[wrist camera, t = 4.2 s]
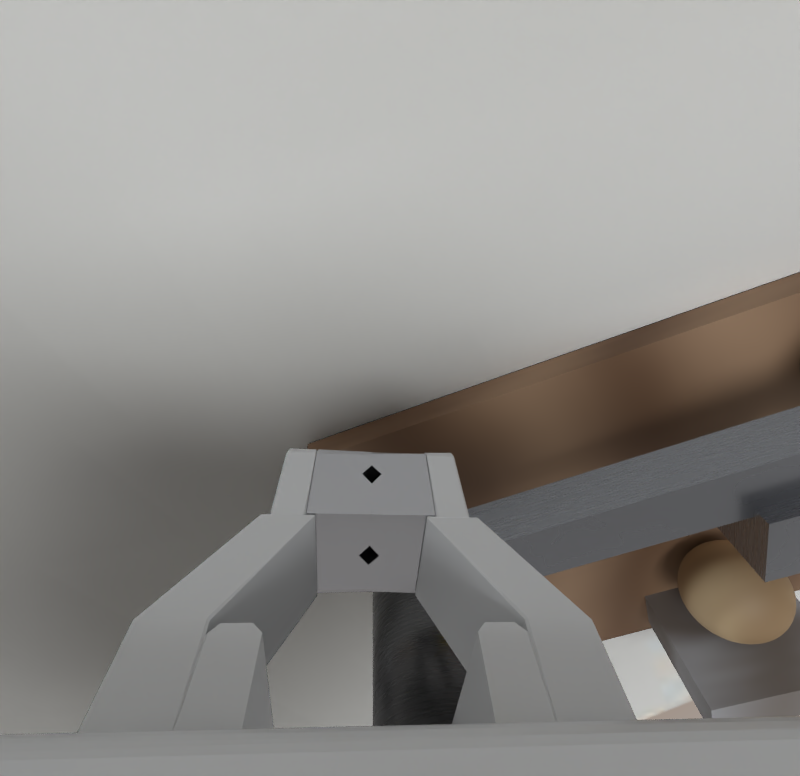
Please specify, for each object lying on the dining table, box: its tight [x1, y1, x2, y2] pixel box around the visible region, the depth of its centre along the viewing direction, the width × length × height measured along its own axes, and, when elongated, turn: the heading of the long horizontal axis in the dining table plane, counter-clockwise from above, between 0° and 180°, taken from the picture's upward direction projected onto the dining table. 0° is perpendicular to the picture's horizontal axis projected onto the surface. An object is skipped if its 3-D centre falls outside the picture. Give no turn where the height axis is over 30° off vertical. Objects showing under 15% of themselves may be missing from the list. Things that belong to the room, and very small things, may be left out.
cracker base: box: [307, 273, 800, 718], centre depth 15 cm, size 20×15×5 cm
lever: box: [373, 406, 800, 726], centre depth 10 cm, size 18×5×6 cm, turn 111°
